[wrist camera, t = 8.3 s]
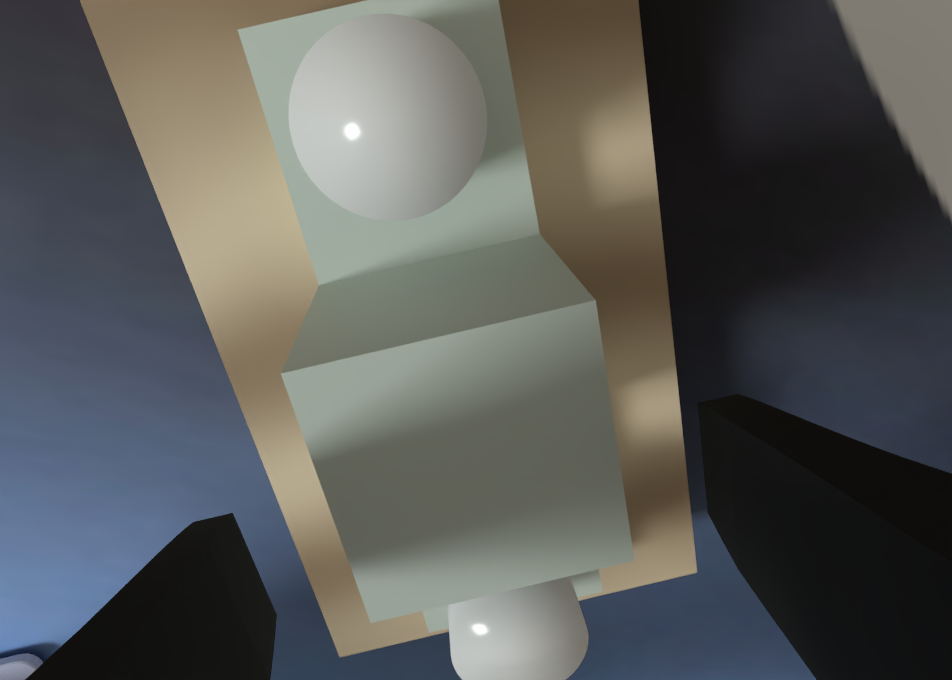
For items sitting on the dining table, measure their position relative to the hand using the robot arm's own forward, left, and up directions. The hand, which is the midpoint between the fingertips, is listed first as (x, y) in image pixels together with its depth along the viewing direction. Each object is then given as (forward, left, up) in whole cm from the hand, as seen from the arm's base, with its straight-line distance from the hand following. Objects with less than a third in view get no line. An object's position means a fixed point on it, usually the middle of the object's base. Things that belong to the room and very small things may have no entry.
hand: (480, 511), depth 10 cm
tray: (0, 0, -7) cm, 7 cm away
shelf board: (0, 0, -9) cm, 9 cm away
